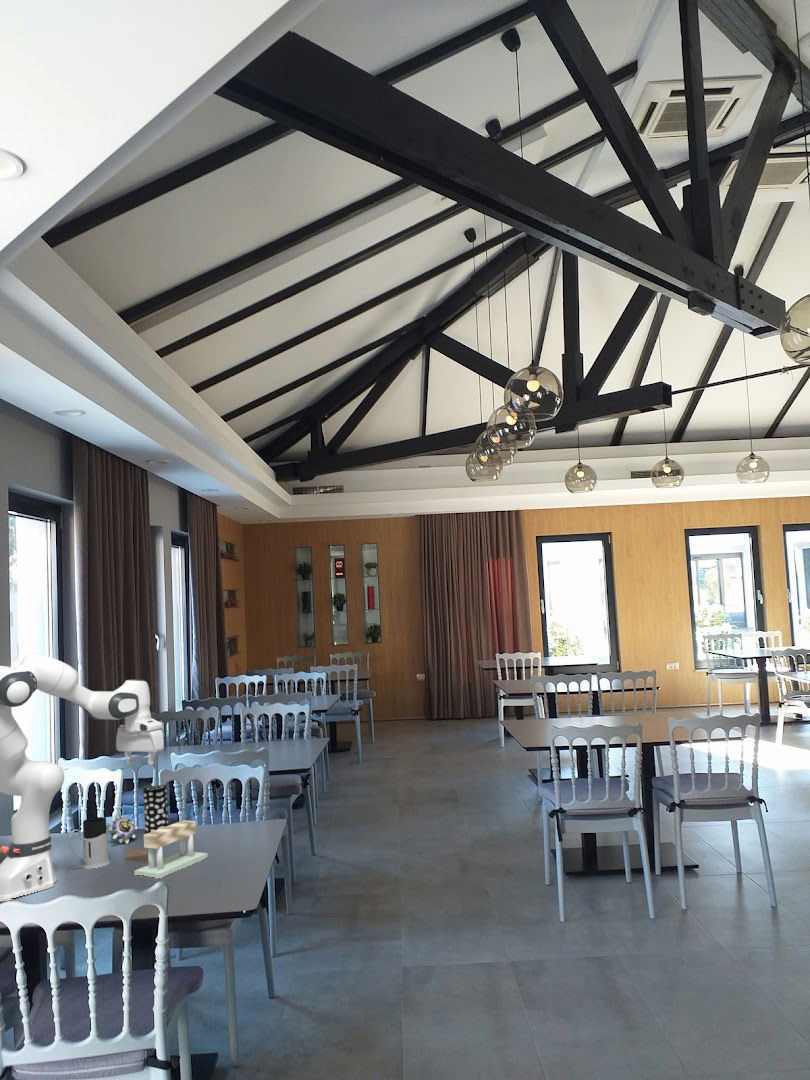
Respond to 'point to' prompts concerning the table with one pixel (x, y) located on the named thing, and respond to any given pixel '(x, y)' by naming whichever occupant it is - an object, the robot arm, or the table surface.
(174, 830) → the plank
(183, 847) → the peg stand
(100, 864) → the electric kettle
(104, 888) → the table surface
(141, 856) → the riser
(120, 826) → the passion flower
